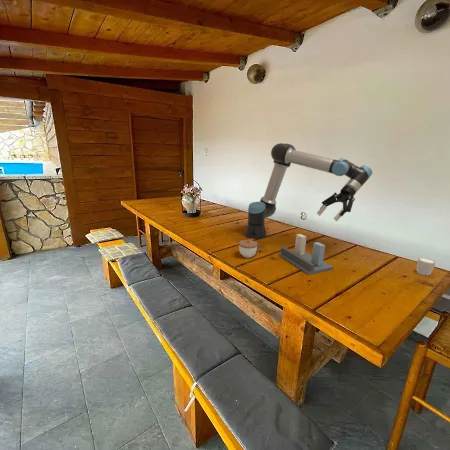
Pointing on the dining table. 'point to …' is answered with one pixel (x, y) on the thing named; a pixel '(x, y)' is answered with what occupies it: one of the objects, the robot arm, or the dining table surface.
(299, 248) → the cream key
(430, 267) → the beige cylinder
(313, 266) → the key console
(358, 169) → the robot arm
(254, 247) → the lidded jar
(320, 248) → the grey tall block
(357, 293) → the dining table surface
